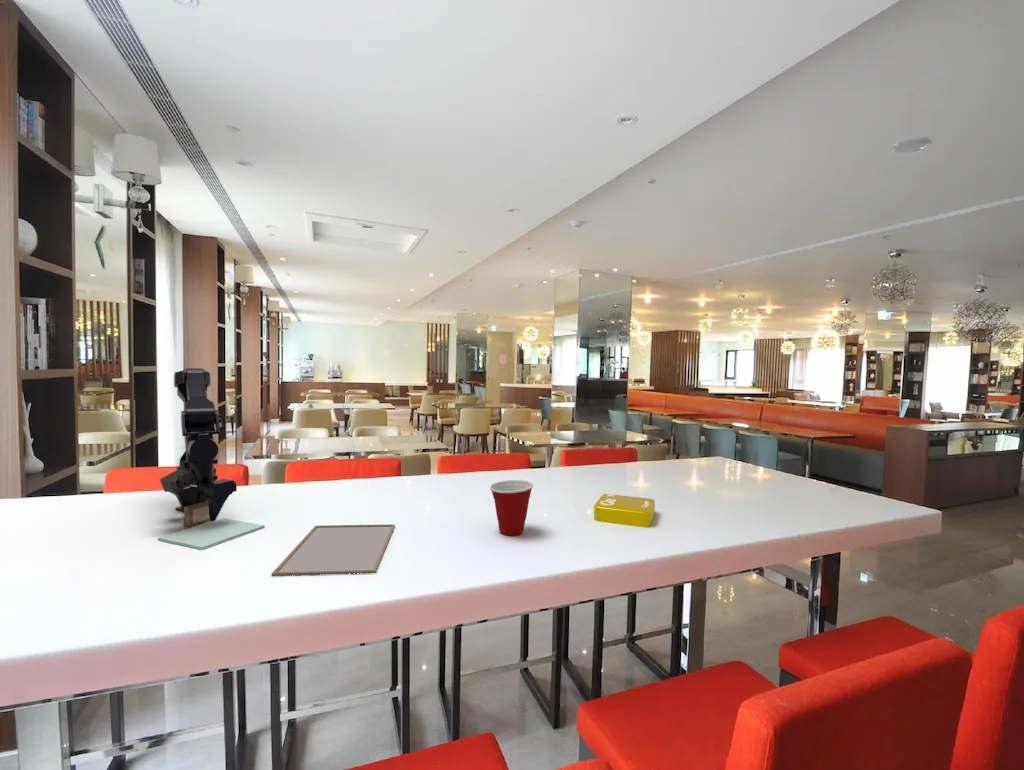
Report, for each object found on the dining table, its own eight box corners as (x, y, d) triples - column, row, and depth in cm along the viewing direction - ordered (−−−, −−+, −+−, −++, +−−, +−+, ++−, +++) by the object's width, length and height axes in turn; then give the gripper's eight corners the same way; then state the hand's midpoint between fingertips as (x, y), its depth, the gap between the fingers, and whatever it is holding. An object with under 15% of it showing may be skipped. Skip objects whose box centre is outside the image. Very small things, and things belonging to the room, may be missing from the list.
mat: (158, 540, 109) (158, 537, 109) (223, 520, 124) (223, 517, 124) (202, 550, 104) (202, 547, 104) (264, 527, 119) (264, 525, 119)
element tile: (650, 529, 125) (650, 511, 124) (592, 522, 130) (592, 504, 130) (655, 514, 139) (655, 497, 138) (602, 507, 144) (603, 491, 144)
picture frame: (315, 529, 120) (271, 578, 92) (315, 525, 120) (271, 573, 92) (394, 528, 122) (375, 576, 94) (394, 524, 122) (375, 570, 94)
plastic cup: (484, 526, 123) (485, 479, 123) (525, 523, 126) (526, 477, 126) (493, 541, 113) (494, 490, 112) (538, 538, 116) (539, 488, 115)
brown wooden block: (184, 527, 118) (184, 507, 118) (211, 519, 125) (211, 500, 125) (188, 528, 118) (188, 507, 118) (215, 520, 124) (215, 500, 124)
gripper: (140, 458, 117) (140, 523, 117) (194, 465, 110) (194, 533, 110) (186, 451, 127) (186, 510, 128) (238, 457, 120) (238, 520, 121)
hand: (200, 518), depth 121 cm, fingers open, 9 cm apart
